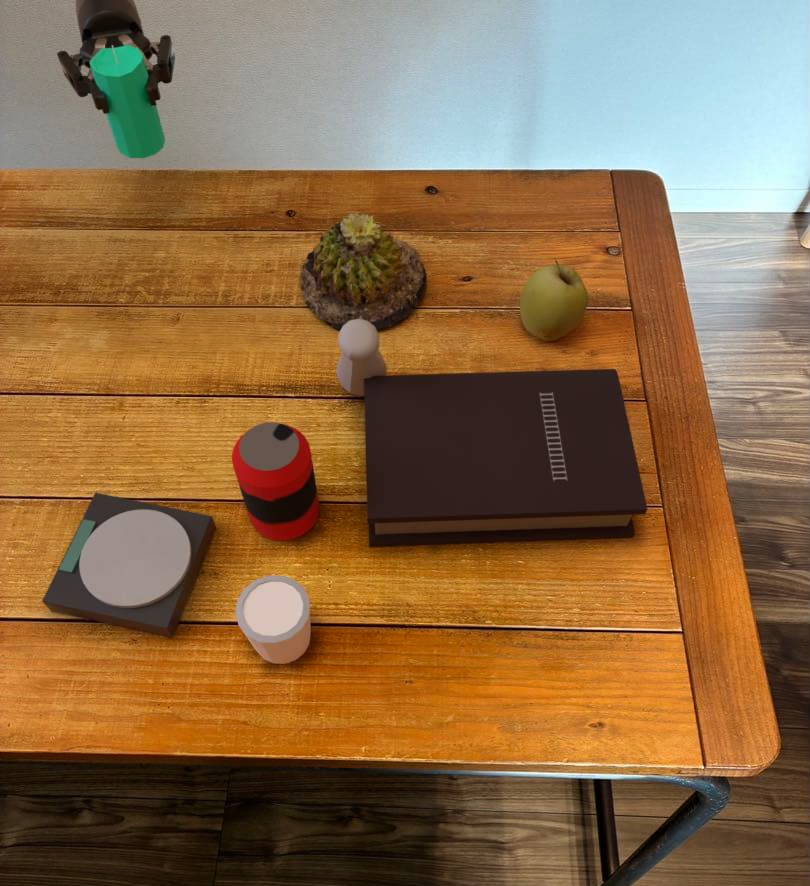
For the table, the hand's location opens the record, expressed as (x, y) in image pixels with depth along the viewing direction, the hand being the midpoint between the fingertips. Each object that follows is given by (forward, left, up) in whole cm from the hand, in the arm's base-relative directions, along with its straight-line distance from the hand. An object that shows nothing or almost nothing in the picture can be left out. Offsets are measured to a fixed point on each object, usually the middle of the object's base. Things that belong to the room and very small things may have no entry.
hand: (128, 101), depth 95 cm
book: (+50, -29, -18) cm, 60 cm away
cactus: (+29, -5, -18) cm, 34 cm away
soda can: (+29, -40, -18) cm, 52 cm away
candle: (-1, +2, -7) cm, 8 cm away
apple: (+53, -7, -18) cm, 56 cm away
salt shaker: (+32, -20, -17) cm, 42 cm away
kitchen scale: (+16, -50, -17) cm, 55 cm away
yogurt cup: (+33, -54, -18) cm, 65 cm away
